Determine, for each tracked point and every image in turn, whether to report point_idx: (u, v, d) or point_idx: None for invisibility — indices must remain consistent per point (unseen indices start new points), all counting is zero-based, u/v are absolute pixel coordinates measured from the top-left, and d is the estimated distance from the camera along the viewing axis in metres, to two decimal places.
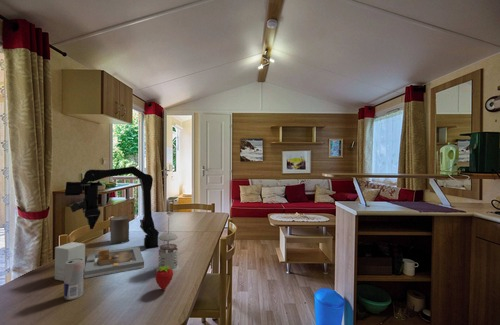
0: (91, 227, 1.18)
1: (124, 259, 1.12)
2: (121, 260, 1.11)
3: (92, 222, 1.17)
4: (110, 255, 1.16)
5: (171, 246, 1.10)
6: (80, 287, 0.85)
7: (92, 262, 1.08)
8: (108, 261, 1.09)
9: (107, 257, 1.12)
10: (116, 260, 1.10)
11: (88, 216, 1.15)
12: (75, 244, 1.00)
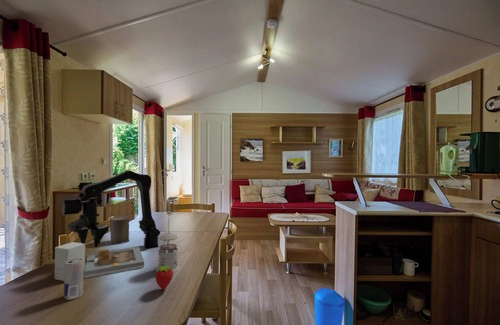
0: (96, 245, 1.13)
1: (124, 259, 1.12)
2: (121, 260, 1.11)
3: (98, 240, 1.13)
4: (110, 255, 1.16)
5: (171, 246, 1.10)
6: (80, 287, 0.85)
7: (92, 262, 1.08)
8: (108, 261, 1.09)
9: (107, 257, 1.12)
10: (116, 260, 1.10)
11: (97, 234, 1.11)
12: (75, 244, 1.00)
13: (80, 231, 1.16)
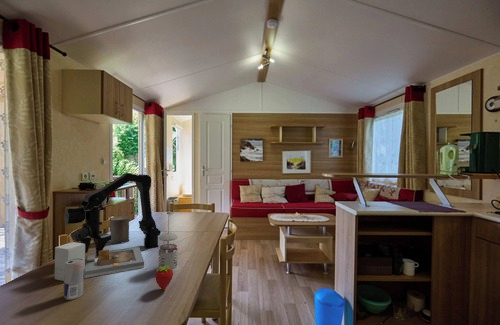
0: (98, 254, 1.12)
1: (124, 259, 1.12)
2: (121, 260, 1.11)
3: (100, 249, 1.12)
4: (110, 255, 1.16)
5: (171, 246, 1.10)
6: (80, 287, 0.85)
7: (92, 262, 1.08)
8: (109, 261, 1.09)
9: (107, 257, 1.12)
10: (116, 260, 1.11)
11: (100, 243, 1.10)
12: (75, 244, 1.00)
13: (83, 240, 1.15)
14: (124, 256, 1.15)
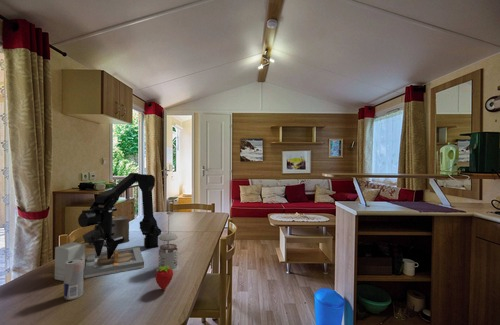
0: (109, 257, 1.09)
1: (124, 253, 1.19)
2: (126, 254, 1.18)
3: (111, 251, 1.09)
4: (105, 260, 1.10)
5: (171, 246, 1.10)
6: (80, 287, 0.85)
7: (92, 262, 1.08)
8: (125, 257, 1.14)
9: None
10: (124, 255, 1.16)
11: None
12: (75, 244, 1.00)
13: (96, 242, 1.11)
14: None
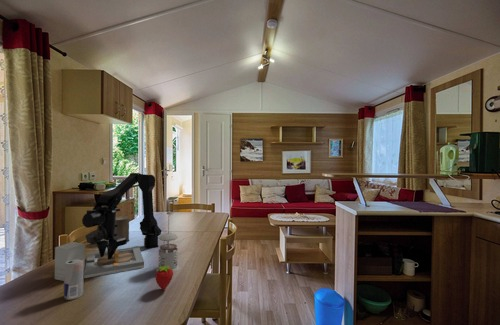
0: (109, 257, 1.08)
1: (124, 253, 1.19)
2: (126, 254, 1.18)
3: (112, 251, 1.08)
4: (105, 260, 1.10)
5: (171, 246, 1.10)
6: (80, 287, 0.85)
7: (92, 262, 1.08)
8: (125, 257, 1.14)
9: None
10: (124, 255, 1.16)
11: None
12: (75, 244, 1.00)
13: (100, 243, 1.10)
14: None
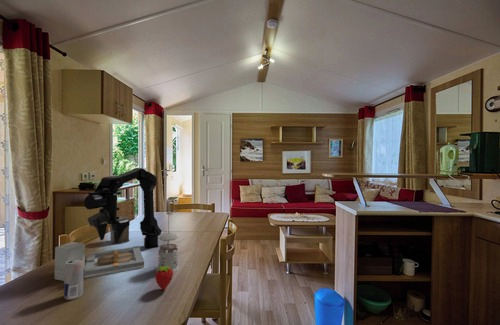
0: (116, 241, 1.07)
1: (124, 253, 1.19)
2: (126, 254, 1.18)
3: (118, 235, 1.07)
4: (105, 260, 1.10)
5: (171, 246, 1.10)
6: (80, 287, 0.85)
7: (92, 262, 1.08)
8: (125, 257, 1.14)
9: None
10: (124, 255, 1.16)
11: (118, 228, 1.05)
12: (75, 244, 1.00)
13: (99, 226, 1.10)
14: None
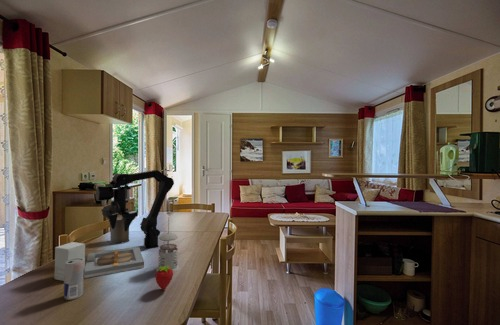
0: (126, 229, 1.23)
1: (124, 253, 1.19)
2: (126, 254, 1.18)
3: (128, 224, 1.23)
4: (105, 260, 1.10)
5: (171, 246, 1.10)
6: (80, 287, 0.85)
7: (92, 262, 1.08)
8: (125, 257, 1.14)
9: None
10: (124, 255, 1.16)
11: (128, 218, 1.20)
12: (75, 244, 1.00)
13: (110, 216, 1.26)
14: None
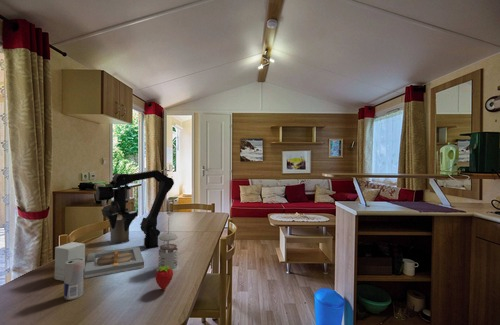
0: (126, 229, 1.23)
1: (124, 253, 1.19)
2: (126, 254, 1.18)
3: (128, 224, 1.23)
4: (105, 260, 1.10)
5: (171, 246, 1.10)
6: (80, 287, 0.85)
7: (92, 262, 1.08)
8: (125, 257, 1.14)
9: None
10: (124, 255, 1.16)
11: (128, 218, 1.20)
12: (75, 244, 1.00)
13: (110, 216, 1.26)
14: None
